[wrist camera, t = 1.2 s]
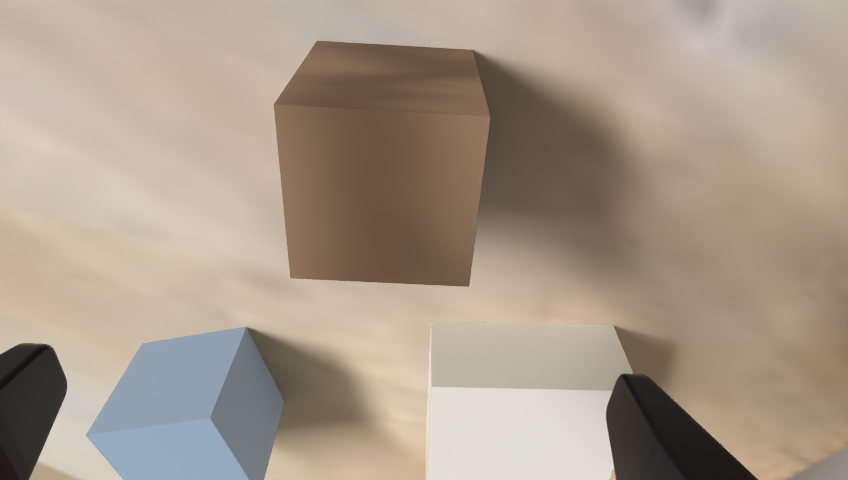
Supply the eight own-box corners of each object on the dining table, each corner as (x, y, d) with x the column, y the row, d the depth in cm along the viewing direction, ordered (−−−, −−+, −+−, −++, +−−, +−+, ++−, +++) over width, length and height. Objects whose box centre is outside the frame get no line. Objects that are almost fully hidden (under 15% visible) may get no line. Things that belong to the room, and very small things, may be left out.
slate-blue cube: (246, 325, 24) (209, 417, 20) (285, 400, 27) (259, 495, 23) (143, 342, 25) (86, 435, 21) (190, 413, 28) (148, 509, 23)
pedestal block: (611, 321, 24) (640, 391, 21) (579, 436, 29) (599, 509, 25) (431, 317, 24) (431, 386, 21) (426, 433, 29) (425, 506, 25)
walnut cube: (472, 49, 18) (490, 116, 13) (458, 187, 21) (469, 286, 16) (317, 40, 18) (274, 104, 13) (324, 180, 20) (290, 277, 15)
